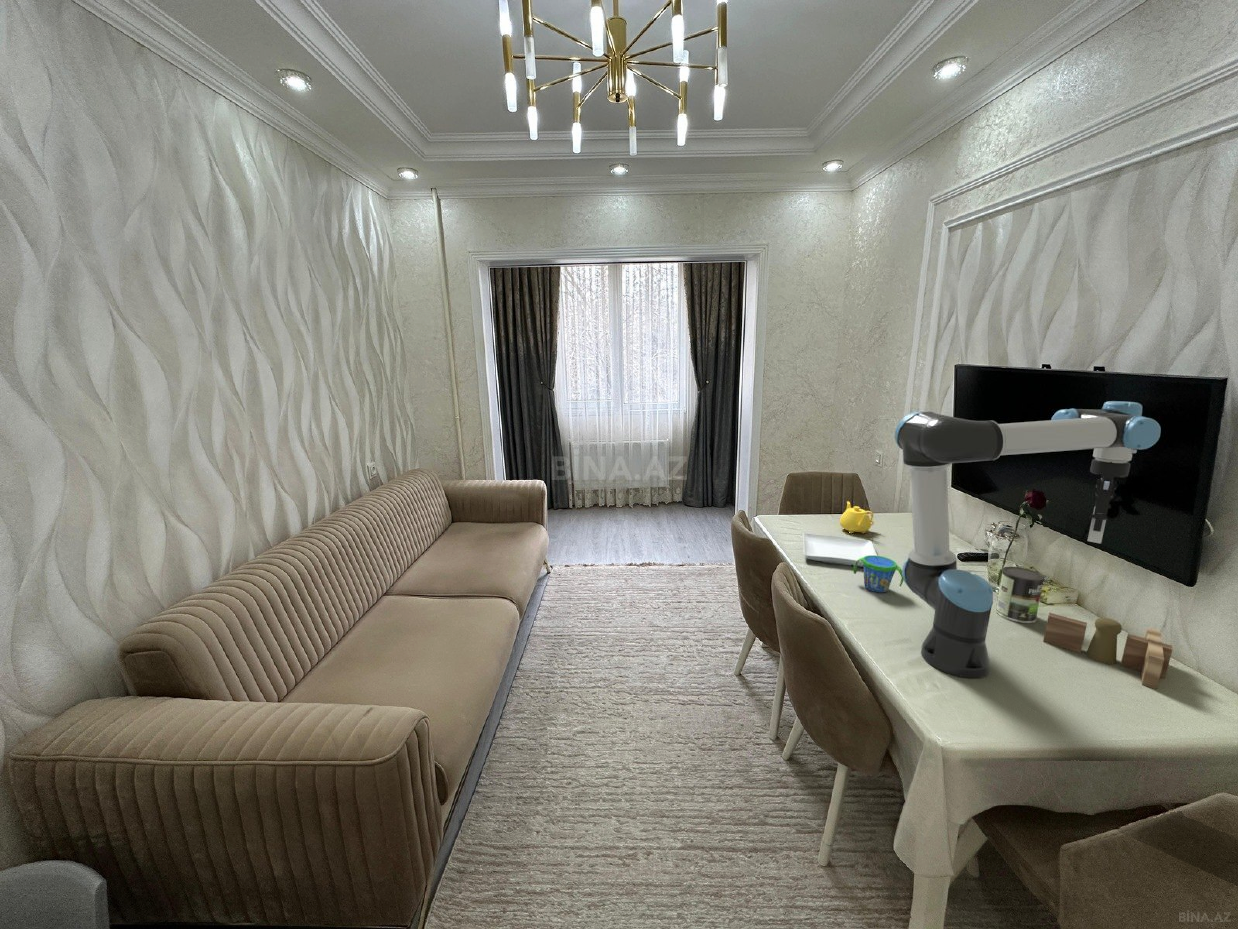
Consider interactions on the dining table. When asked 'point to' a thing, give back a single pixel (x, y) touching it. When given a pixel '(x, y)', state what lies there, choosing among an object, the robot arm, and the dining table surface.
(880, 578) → the snack cup
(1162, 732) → the dining table surface
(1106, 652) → the cork
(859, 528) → the teapot
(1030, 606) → the coffee can
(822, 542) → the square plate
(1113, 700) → the dining table surface
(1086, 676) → the dining table surface
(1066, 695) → the dining table surface
